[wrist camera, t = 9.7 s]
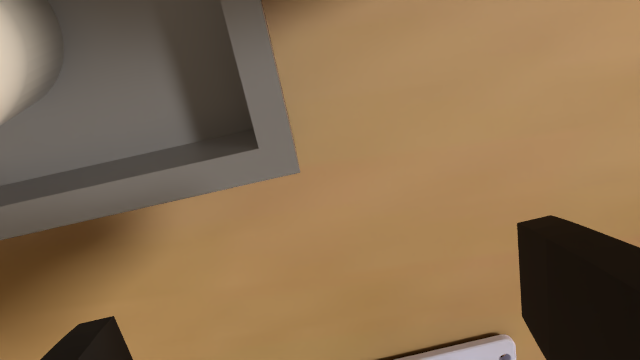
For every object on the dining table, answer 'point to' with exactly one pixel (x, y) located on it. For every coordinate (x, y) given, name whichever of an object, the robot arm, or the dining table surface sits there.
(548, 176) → the dining table surface
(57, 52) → the salt shaker
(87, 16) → the tray
